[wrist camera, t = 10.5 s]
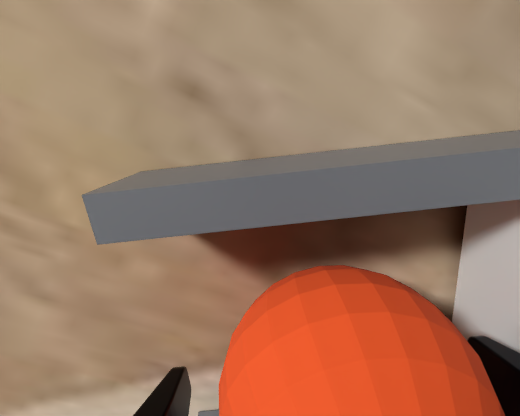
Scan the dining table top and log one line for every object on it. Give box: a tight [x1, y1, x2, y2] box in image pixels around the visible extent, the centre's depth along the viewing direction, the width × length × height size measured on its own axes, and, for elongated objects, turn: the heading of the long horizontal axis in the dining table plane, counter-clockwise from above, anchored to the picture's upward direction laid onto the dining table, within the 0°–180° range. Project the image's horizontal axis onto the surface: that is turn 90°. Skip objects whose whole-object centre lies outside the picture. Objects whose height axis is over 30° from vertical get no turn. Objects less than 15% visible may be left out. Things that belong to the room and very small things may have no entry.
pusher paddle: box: [452, 200, 520, 353], centre depth 8 cm, size 1×9×4 cm, turn 6°
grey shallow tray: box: [82, 130, 520, 416], centre depth 9 cm, size 16×12×4 cm
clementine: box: [219, 265, 505, 416], centre depth 7 cm, size 8×7×7 cm
